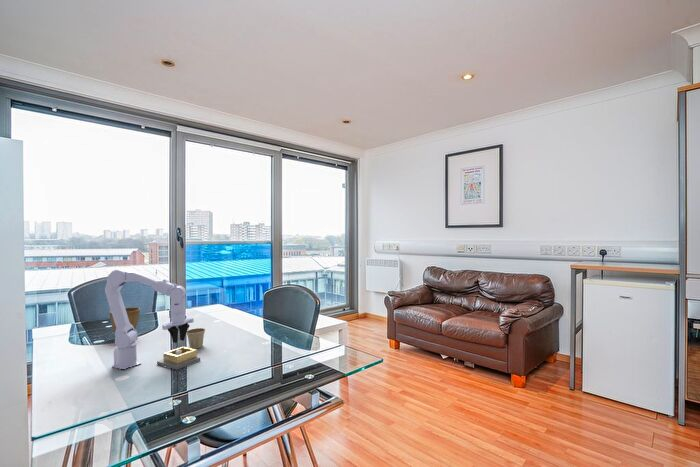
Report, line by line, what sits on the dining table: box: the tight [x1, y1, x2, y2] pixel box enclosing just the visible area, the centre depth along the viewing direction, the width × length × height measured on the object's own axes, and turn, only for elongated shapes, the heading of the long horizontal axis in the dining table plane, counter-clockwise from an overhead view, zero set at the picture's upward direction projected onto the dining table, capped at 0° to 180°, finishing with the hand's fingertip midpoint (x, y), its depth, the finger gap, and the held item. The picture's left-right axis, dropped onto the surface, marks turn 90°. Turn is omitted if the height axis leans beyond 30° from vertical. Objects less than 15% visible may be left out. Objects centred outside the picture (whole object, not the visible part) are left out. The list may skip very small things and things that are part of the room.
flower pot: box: [186, 327, 206, 350], centre depth 180 cm, size 9×9×9 cm
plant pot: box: [109, 306, 141, 333], centre depth 200 cm, size 15×15×16 cm
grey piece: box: [156, 350, 201, 371], centre depth 159 cm, size 14×12×6 cm
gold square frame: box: [162, 346, 198, 364], centre depth 159 cm, size 10×10×4 cm
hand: (178, 341), depth 160 cm, fingers open, 3 cm apart
